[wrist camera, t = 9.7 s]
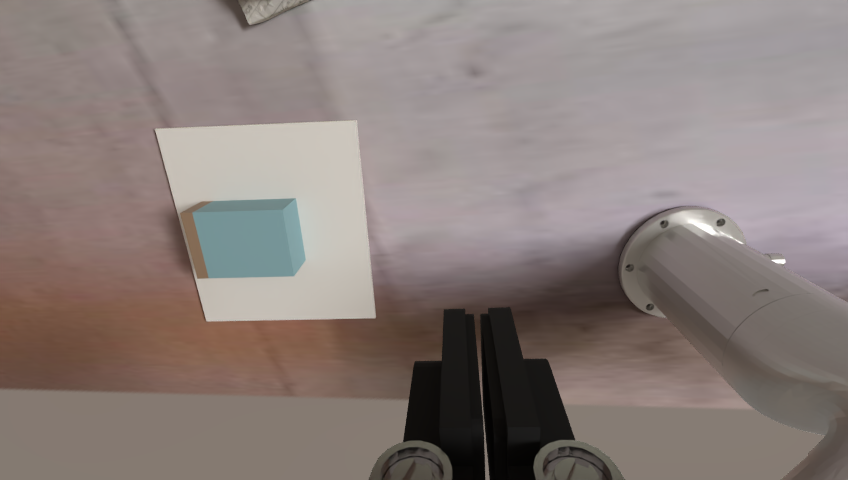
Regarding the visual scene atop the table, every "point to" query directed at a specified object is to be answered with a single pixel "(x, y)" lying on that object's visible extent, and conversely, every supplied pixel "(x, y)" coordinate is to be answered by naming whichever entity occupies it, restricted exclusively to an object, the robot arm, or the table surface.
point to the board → (282, 179)
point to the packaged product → (266, 8)
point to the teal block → (244, 238)
